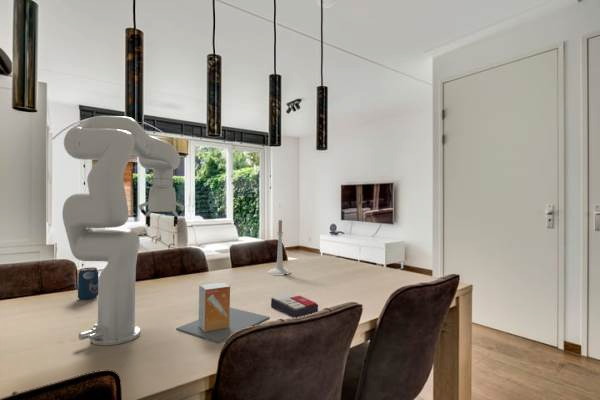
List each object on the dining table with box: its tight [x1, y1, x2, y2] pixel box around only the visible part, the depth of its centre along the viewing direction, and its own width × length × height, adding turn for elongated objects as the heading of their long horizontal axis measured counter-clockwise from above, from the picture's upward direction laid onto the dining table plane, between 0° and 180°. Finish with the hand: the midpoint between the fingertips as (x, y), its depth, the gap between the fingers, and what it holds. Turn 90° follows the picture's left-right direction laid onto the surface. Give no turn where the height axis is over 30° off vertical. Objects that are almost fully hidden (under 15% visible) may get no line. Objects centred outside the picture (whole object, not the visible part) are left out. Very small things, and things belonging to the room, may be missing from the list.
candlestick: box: [267, 219, 292, 275], centre depth 187 cm, size 13×13×30 cm
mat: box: [175, 307, 270, 344], centre depth 109 cm, size 24×18×1 cm
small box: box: [198, 282, 231, 332], centre depth 105 cm, size 8×6×13 cm
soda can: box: [77, 267, 99, 302], centre depth 134 cm, size 7×7×12 cm
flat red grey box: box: [270, 292, 319, 318], centre depth 125 cm, size 11×4×15 cm
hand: (161, 226), depth 134 cm, fingers open, 9 cm apart
